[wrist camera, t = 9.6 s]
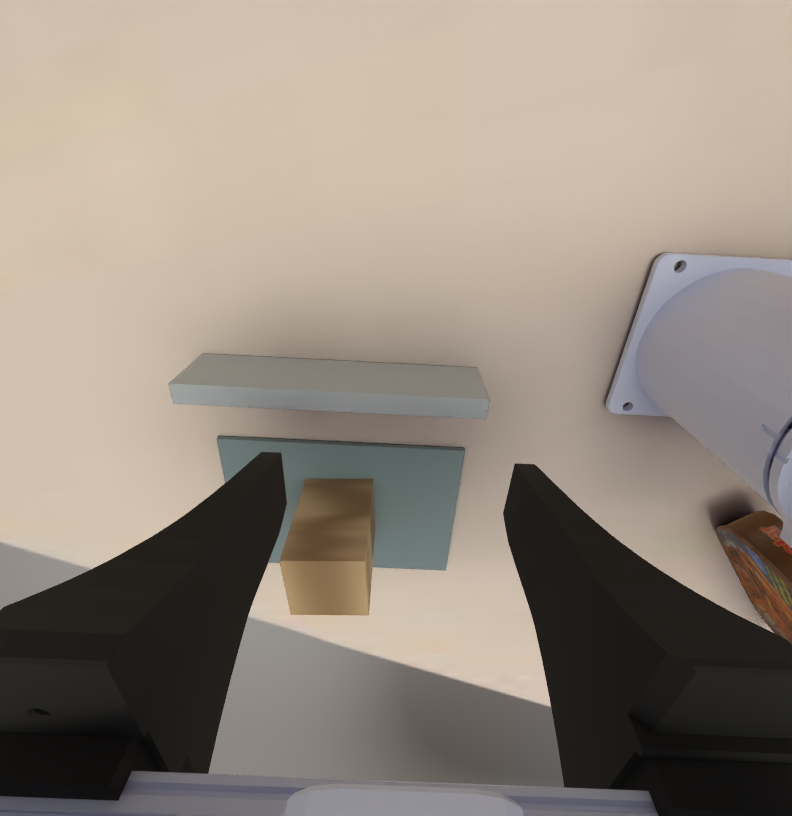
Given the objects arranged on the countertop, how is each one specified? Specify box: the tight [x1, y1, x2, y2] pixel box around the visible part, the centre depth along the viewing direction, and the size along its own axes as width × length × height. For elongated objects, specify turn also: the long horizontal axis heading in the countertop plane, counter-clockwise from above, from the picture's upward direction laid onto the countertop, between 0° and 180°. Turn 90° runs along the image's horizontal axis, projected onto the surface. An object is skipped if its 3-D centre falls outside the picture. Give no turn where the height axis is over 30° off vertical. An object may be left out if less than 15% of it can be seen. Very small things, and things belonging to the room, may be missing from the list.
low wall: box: [168, 354, 490, 419], centre depth 20 cm, size 14×1×4 cm, turn 87°
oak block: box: [279, 479, 375, 615], centre depth 23 cm, size 4×4×6 cm
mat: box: [217, 436, 465, 570], centre depth 26 cm, size 14×10×1 cm
